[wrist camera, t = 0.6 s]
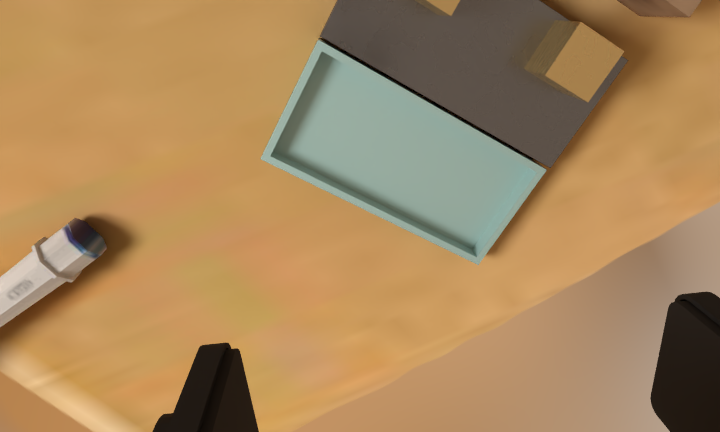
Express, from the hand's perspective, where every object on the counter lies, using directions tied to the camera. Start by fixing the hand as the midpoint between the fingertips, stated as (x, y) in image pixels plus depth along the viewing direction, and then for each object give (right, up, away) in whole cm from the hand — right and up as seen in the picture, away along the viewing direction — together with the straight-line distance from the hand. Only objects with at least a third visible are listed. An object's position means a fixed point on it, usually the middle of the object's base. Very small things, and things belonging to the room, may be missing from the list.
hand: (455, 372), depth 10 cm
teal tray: (+2, +9, +32) cm, 33 cm away
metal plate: (+7, +17, +28) cm, 34 cm away
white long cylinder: (-36, -4, +36) cm, 51 cm away
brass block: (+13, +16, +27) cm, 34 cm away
